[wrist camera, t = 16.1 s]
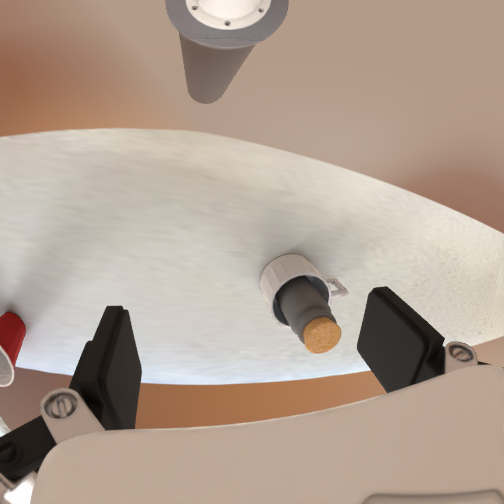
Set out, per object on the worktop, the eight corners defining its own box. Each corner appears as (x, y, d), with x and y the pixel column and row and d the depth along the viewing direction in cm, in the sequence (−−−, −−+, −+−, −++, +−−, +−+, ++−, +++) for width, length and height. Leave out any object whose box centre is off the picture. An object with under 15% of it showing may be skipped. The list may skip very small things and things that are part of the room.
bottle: (309, 267, 48) (351, 318, 35) (302, 300, 50) (337, 356, 37) (274, 265, 47) (306, 318, 33) (268, 299, 49) (295, 358, 35)
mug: (259, 307, 50) (268, 332, 43) (260, 255, 47) (271, 274, 40) (330, 300, 52) (346, 322, 46) (336, 251, 49) (356, 268, 42)
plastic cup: (40, 316, 43) (14, 357, 32) (34, 355, 46) (12, 396, 35) (-5, 288, 40) (-38, 323, 29) (-8, 330, 42) (-34, 366, 31)
